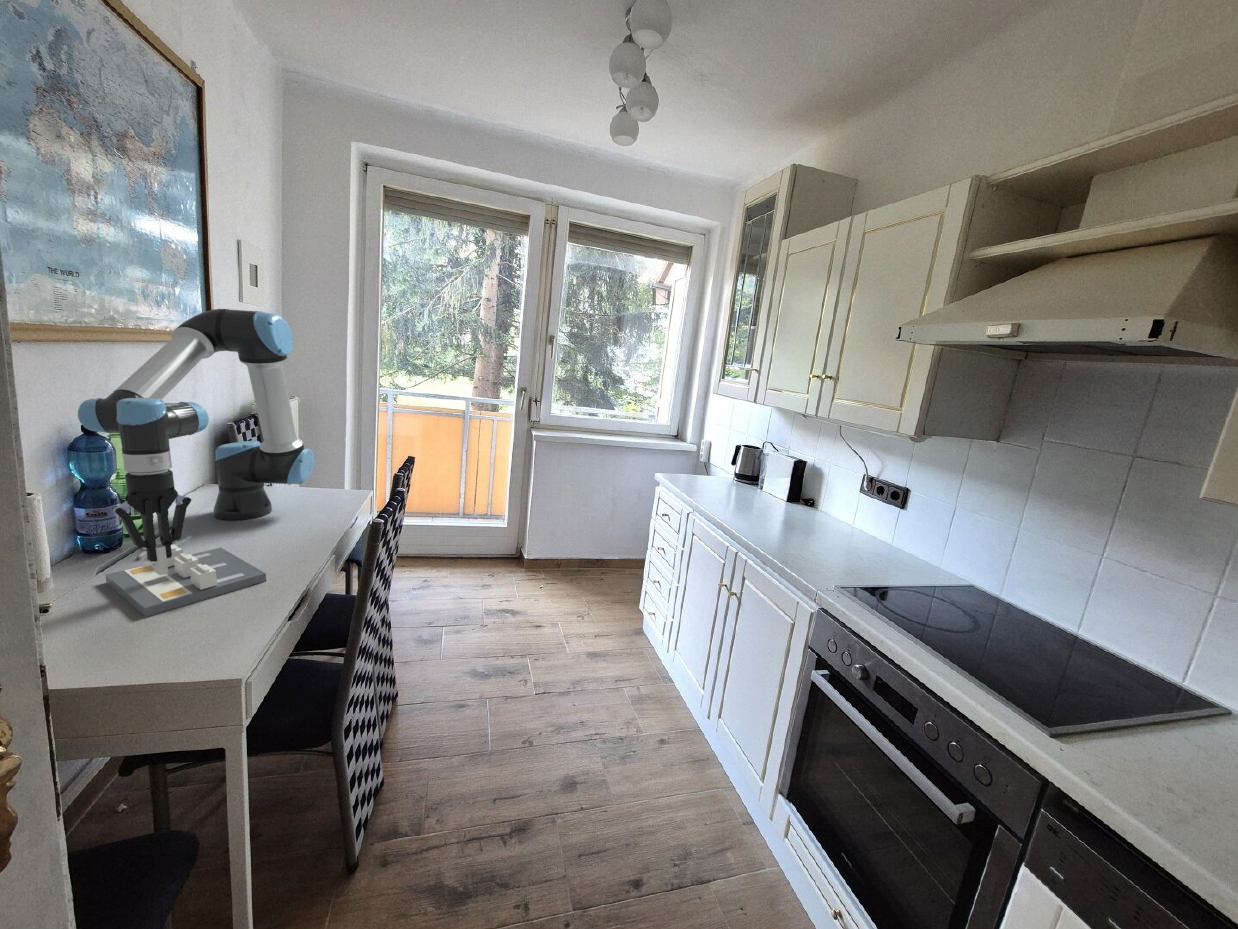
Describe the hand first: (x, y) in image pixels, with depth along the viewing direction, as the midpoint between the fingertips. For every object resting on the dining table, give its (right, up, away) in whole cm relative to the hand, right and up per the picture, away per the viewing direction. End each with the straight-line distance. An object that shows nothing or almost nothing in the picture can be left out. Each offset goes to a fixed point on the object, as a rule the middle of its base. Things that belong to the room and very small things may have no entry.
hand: (161, 572), depth 113 cm
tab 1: (-5, +1, +9) cm, 10 cm away
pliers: (-19, +1, +21) cm, 28 cm away
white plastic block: (+10, -2, 0) cm, 10 cm away
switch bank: (+2, -3, +5) cm, 6 cm away
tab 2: (+2, -1, +4) cm, 5 cm away
